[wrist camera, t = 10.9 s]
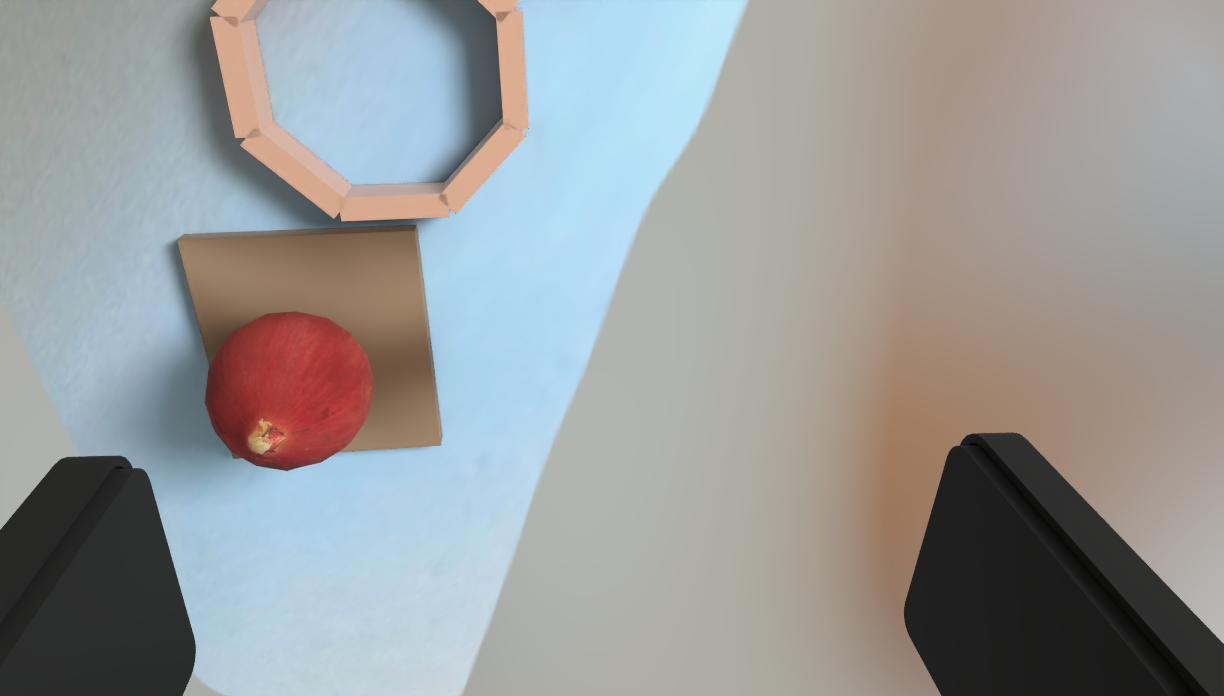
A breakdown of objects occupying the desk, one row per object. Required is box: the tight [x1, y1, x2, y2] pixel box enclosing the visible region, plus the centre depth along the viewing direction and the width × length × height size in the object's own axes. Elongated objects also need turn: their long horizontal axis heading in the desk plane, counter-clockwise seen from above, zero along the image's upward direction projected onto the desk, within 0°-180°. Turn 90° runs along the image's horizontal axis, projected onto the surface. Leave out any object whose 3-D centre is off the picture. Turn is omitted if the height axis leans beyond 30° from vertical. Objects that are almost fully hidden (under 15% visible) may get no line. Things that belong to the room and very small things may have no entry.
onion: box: [205, 311, 373, 471], centre depth 30 cm, size 6×6×8 cm
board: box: [177, 225, 442, 459], centre depth 34 cm, size 10×9×1 cm
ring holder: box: [210, 0, 529, 221], centre depth 29 cm, size 10×10×2 cm
